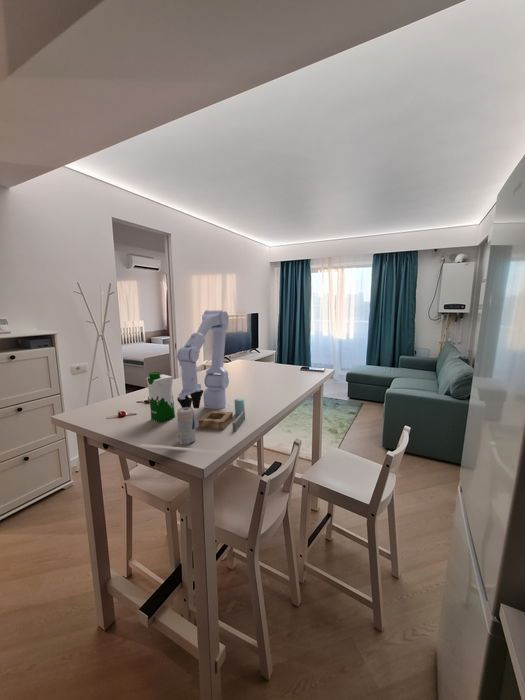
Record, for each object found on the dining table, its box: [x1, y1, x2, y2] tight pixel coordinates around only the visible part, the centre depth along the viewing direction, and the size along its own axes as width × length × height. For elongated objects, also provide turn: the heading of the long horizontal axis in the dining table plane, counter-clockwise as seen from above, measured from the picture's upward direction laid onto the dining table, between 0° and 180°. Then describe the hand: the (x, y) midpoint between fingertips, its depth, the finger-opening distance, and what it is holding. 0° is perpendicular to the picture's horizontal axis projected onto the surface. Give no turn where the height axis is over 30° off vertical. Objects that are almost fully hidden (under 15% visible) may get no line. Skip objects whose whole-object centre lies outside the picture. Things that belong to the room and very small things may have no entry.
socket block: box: [198, 410, 234, 430], centre depth 117 cm, size 10×10×3 cm
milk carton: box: [145, 371, 176, 424], centre depth 124 cm, size 9×9×20 cm
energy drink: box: [176, 406, 197, 446], centre depth 102 cm, size 5×5×12 cm
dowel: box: [234, 397, 246, 417], centre depth 126 cm, size 4×4×7 cm
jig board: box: [232, 411, 246, 433], centre depth 117 cm, size 20×12×4 cm, turn 76°
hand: (192, 411), depth 119 cm, fingers open, 7 cm apart
